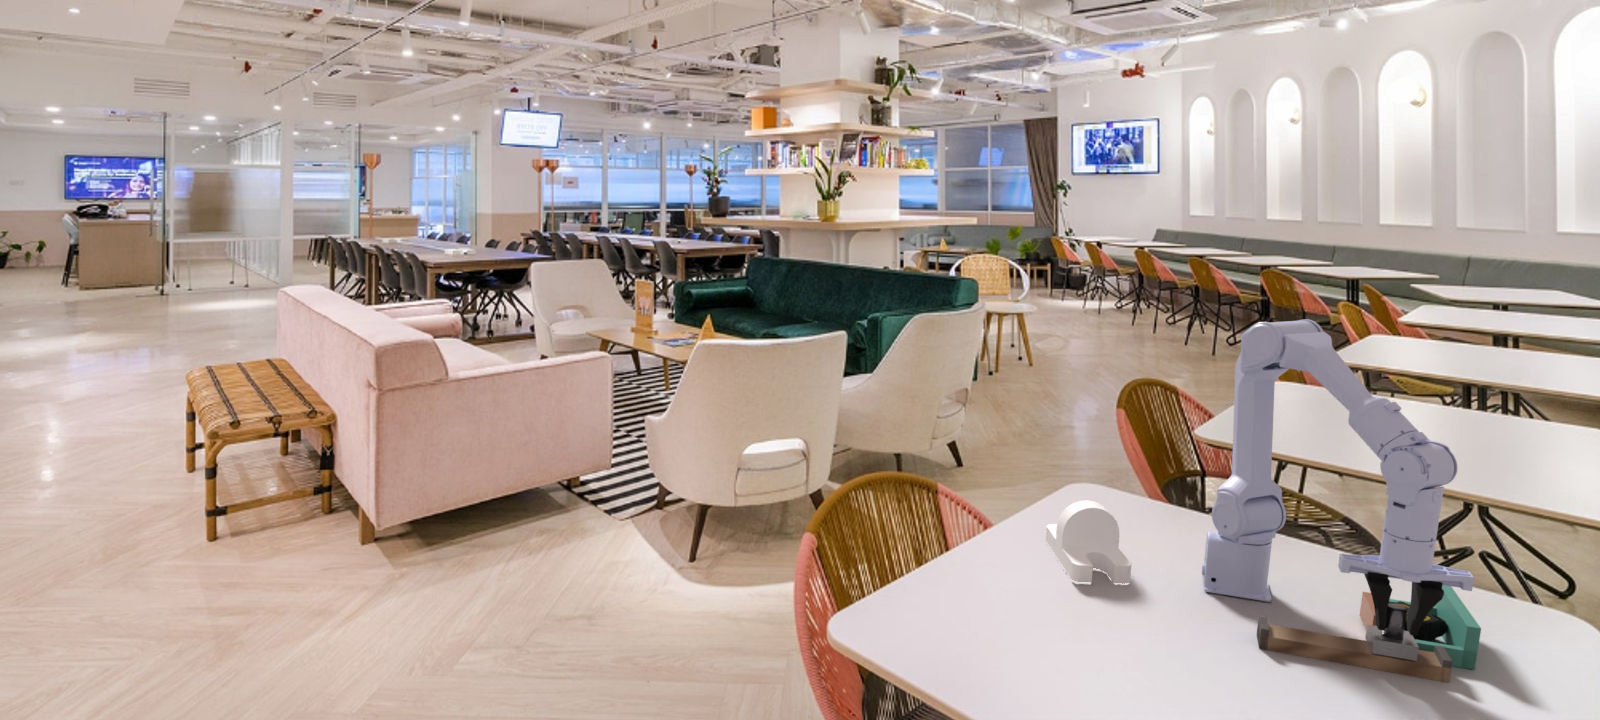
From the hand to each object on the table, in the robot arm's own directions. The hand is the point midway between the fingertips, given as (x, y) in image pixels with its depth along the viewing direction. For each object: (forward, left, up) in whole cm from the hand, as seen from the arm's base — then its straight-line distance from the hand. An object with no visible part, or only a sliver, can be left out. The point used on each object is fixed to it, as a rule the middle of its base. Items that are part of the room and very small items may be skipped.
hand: (1395, 629), depth 116 cm
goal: (+5, +10, -5) cm, 12 cm away
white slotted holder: (-41, +19, -6) cm, 46 cm away
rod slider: (0, +6, -5) cm, 8 cm away
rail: (-5, 0, -5) cm, 7 cm away
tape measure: (+4, +11, -5) cm, 13 cm away
